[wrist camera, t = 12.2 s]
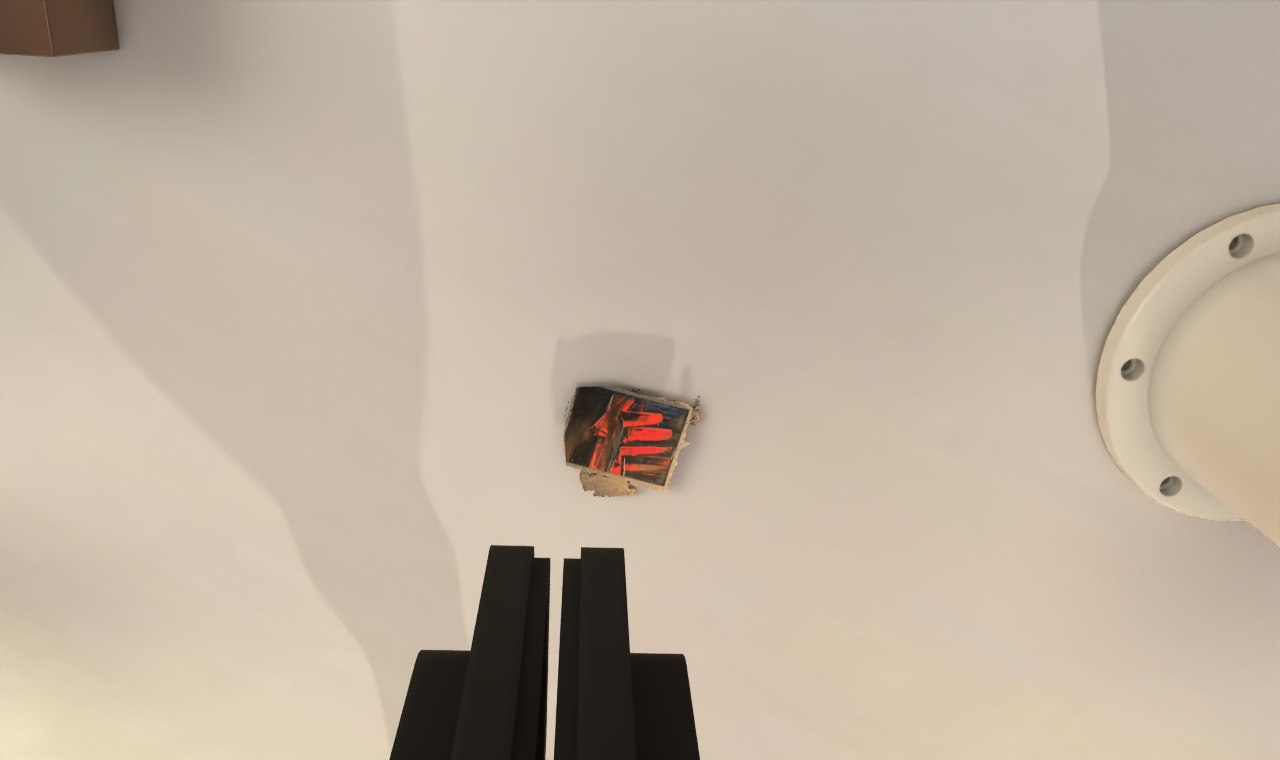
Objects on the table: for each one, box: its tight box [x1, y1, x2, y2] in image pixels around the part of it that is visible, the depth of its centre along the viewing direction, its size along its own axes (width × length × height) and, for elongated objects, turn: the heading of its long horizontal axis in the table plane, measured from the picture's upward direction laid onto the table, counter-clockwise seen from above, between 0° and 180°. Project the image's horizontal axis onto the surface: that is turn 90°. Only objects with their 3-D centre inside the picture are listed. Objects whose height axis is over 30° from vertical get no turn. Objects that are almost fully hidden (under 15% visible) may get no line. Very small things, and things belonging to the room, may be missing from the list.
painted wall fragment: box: [564, 387, 700, 497], centre depth 36 cm, size 5×5×1 cm
